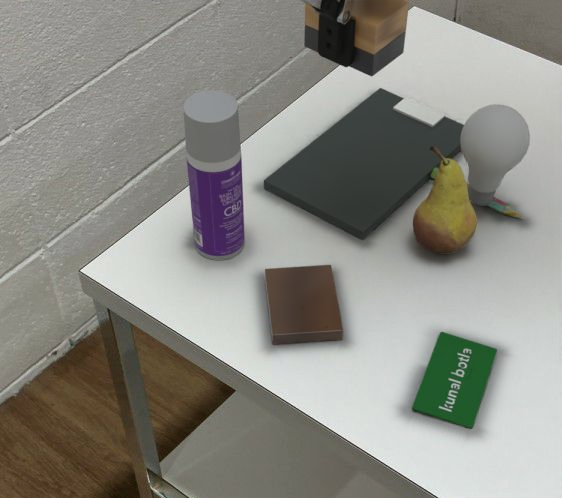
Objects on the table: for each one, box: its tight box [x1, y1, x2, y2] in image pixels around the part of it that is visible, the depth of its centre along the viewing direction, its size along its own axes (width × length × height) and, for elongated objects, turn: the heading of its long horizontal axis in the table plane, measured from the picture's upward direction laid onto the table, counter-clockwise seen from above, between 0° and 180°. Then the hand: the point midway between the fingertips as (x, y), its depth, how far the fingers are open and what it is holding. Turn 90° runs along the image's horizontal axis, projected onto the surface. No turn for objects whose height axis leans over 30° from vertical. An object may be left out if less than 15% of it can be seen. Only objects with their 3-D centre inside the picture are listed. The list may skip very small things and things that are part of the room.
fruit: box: [412, 146, 478, 255], centre depth 83 cm, size 6×6×12 cm
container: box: [182, 89, 246, 261], centre depth 82 cm, size 5×5×15 cm
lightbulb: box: [460, 103, 531, 206], centre depth 87 cm, size 6×6×11 cm
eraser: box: [303, 0, 410, 77], centre depth 77 cm, size 4×7×4 cm, turn 51°
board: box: [263, 87, 465, 241], centre depth 95 cm, size 20×12×1 cm, turn 141°
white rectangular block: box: [393, 96, 446, 127], centre depth 99 cm, size 2×5×1 cm, turn 52°
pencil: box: [430, 167, 525, 220], centre depth 93 cm, size 1×1×18 cm
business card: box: [411, 331, 498, 429], centre depth 78 cm, size 9×1×5 cm
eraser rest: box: [264, 264, 344, 345], centre depth 82 cm, size 6×8×1 cm
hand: (354, 44), depth 78 cm, fingers closed on eraser, 4 cm apart
